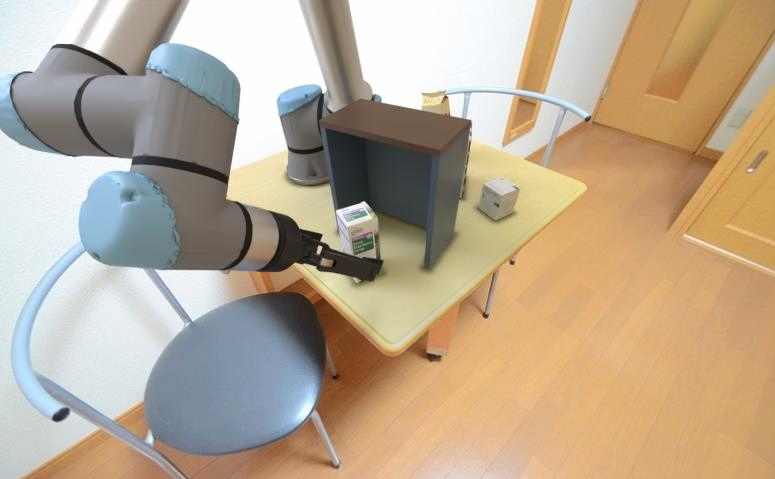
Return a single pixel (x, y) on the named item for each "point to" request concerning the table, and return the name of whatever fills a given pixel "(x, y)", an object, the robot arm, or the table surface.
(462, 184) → the candy bar box
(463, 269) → the table surface
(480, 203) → the product carton
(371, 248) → the syrup box
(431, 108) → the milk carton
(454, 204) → the cupboard
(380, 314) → the table surface
